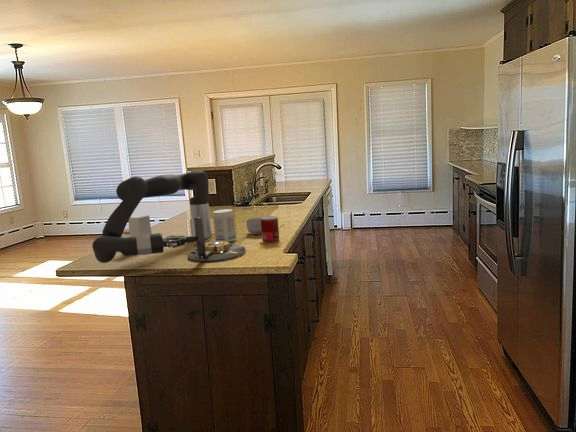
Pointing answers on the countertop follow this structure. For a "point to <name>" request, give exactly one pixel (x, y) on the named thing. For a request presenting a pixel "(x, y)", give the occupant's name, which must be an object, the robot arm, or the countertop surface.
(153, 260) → the countertop surface
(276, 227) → the canned food
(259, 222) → the teacup
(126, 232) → the lidded jar
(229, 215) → the supplement tub
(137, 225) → the skincare box
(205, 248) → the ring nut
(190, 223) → the robot arm
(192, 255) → the flange plate
